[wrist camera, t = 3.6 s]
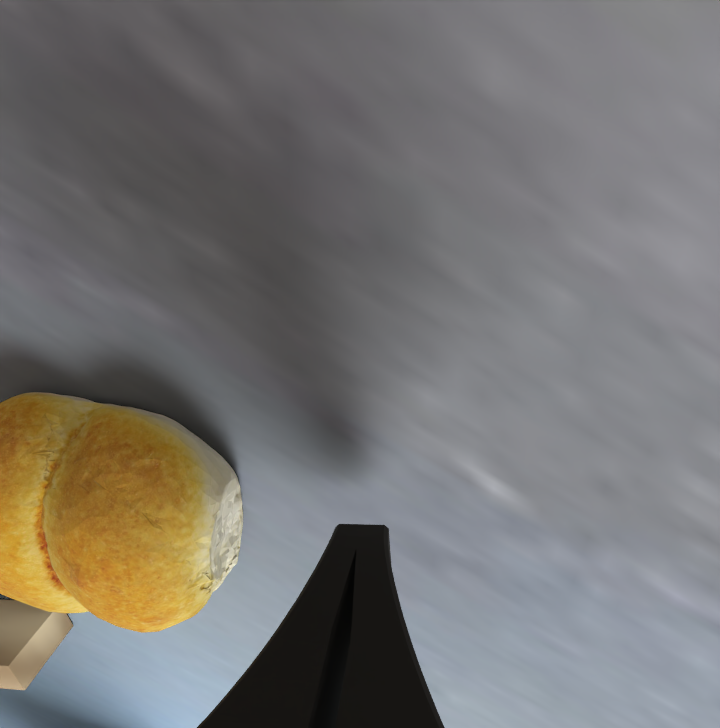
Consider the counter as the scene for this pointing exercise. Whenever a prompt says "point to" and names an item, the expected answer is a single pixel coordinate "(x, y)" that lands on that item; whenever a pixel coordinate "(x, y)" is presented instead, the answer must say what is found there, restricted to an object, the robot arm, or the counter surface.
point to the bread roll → (112, 512)
